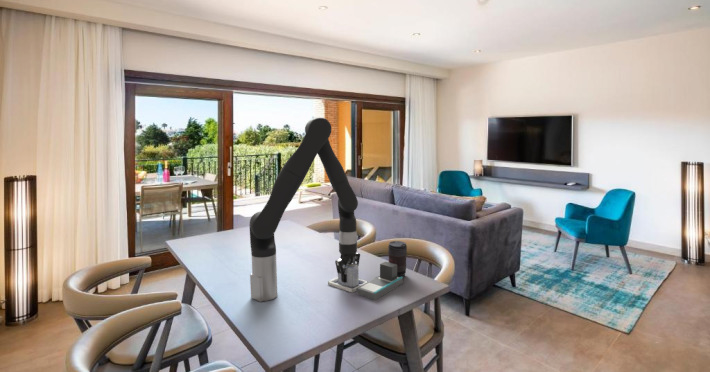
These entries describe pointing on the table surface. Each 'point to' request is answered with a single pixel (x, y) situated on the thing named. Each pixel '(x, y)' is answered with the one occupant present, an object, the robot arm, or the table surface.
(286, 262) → the table surface
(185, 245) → the table surface
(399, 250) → the camera lens
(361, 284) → the tray frame
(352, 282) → the medicine box
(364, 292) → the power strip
